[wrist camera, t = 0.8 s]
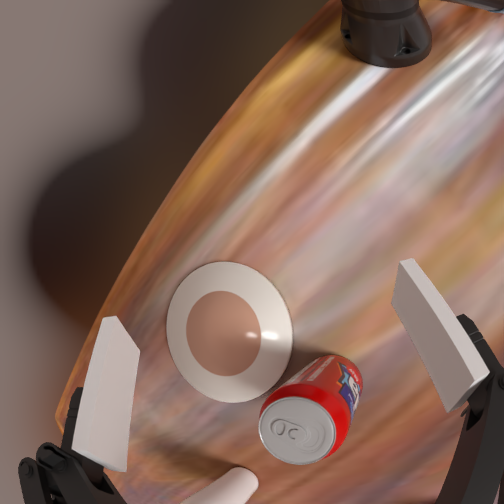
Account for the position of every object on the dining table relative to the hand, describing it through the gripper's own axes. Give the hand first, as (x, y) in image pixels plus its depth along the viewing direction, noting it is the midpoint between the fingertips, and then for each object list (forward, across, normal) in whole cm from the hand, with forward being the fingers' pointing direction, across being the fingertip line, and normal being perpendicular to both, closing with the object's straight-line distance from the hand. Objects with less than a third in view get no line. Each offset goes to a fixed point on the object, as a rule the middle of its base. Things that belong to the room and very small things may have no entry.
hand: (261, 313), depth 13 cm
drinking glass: (+1, -8, -39) cm, 40 cm away
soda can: (+8, +7, -24) cm, 27 cm away
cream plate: (+18, -6, -22) cm, 29 cm away
